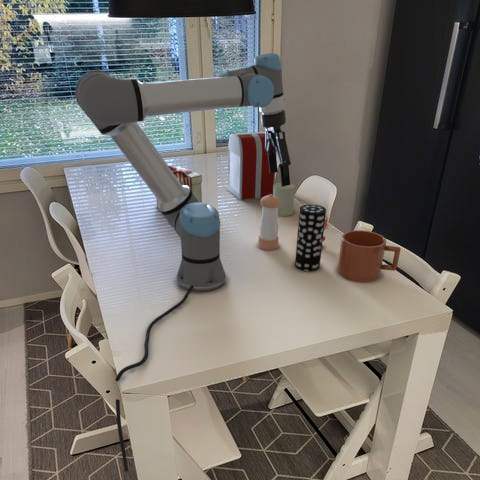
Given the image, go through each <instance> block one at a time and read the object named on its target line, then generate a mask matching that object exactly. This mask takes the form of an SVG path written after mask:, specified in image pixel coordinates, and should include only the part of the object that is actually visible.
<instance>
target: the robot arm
mask: <svg viewBox="0 0 480 480" xmlns="http://www.w3.org/2000/svg"><path fill="white" fill-rule="evenodd" d="M280 58H281V57H280V56H279V54H277V53H273V52H271V53H270V52H269V53H263V54H259V55H257V56H255V57H254V59H253V62H254V63H253V65H251V66H247V67H243V68H238V69H234V70H228V71H227V70H226V72H222V73H220V74H218V75H217V77H207V78H205V77H204V78H193V79H191V78H190V79H181V80H180V79H179V80H166V81H155V82H141V81H139V79H138V78H137V79H136V78H134V79H133V78H132V79H123V78H117V77H114V76H112V75H111V74H110V73H109V72H106V71H104V70H101V69H100V70H99V69H95V70H90V71H87V72H85V73H83V74H82V75H81V76H80V78H79V79H78V81H77V82H76V85H75V90H74V91H75V92H74V93H75V100H76V103H77V104H78V106H79V108H80V109H81V110H82V111H83V112H84V114H85V115H86V116H87V118H89V120H90V122H92V124H93V125H94V126H95V128H96V129H97V130H98V132H99V133H100V135H102V136H108V137H110V139H111V140H112V142H114V144H115V145H116V147H117V148H118V149H119V151H120V152H121V153H122V155H123V156H124V157H125V159H126V160H127V161H128V162H129V164H130V166H131V167H133V169H134V171H135V172H136V173H137V174H138V175H139V177H140V178H141V180H142V181H143V182H144V184H145V185H146V186H147V188H148V189H149V190H150V191H151V193H152V194H153V195H154V197H155V199H156V198H157V199H158V201H159V205H158V207H157V209H158V210H159V212H160V213H161V215H163V217H164V218H165V219H166V221H167V223H168V224H169V225H170V227H171V228H173V230H174V232H175V233H176V234H177V236H178V237H179V238H180V247H181V250H180V251H181V261H180V264H179V266H178V267H179V268H178V270H177V272H176V273H177V274H176V283H177V285H178V286H179V287H180V288H182V289H183V290H186V292H185V294H184V296H183V297H182V298H181V300H180V301H179V302H177V303H176V304H175V305H173V306H172V307H170V308H169V309H167V310H166V311H165V312H163V313H162V314H160V315H158V316H157V317H156V318H154V319H153V320H152V321H151V322H150V323H149V325H148V326H147V328H146V330H145V331H146V332H145V340H144V346H143V347H144V354H143V356H142V358H141V360H139V361H138V362H135V363H133V364H129V365H127V366H125V367H123V368H121V370H119V372H118V373H117V375H116V377H115V378H114V381H115V382H119V381H120V380H121V378H122V376H123V375H124V374H125V373H126V372H128V371H130V370H132V369H135V368H138V367H140V366H142V365H143V364H144V363H145V362H146V360H147V359H148V356H149V342H150V334H151V330H152V328H153V327H154V325H155V324H157V322H159V321H160V320H161V319H163V318H165V317H166V316H167V315H169V314H170V313H171V312H173V311H174V310H176V309H178V308H179V307H180V306H182V305H183V304H184V303H185V302H186V300H187V298H188V297H189V295H190V294H191V292H194V293H206V292H207V293H208V292H212V291H216V290H218V289H220V288H221V287H223V286H224V285H225V283H226V279H227V278H226V272H225V269H224V267H223V264H222V260H221V256H220V254H221V253H220V252H221V250H220V249H221V248H220V247H221V241H220V240H221V238H220V237H221V235H220V234H221V219H220V214H219V211H218V209H217V208H216V207H214V206H213V205H211V204H207V203H205V202H202V203H199V201H198V200H197V198H196V197H195V195H194V194H193V192H192V191H191V190H190V188H189V187H188V186H185V185H181V184H180V182H179V181H178V179H177V178H176V177H175V175H174V174H173V172H172V171H171V169H170V168H169V166H170V165H168V163H167V162H166V161H165V159H164V158H163V156H162V155H161V153H160V152H159V150H158V149H157V148H156V146H155V145H154V143H153V142H152V141H151V139H150V138H149V137H148V134H147V133H146V132H145V131H144V129H143V127H142V126H141V125H140V123H139V122H144V121H145V120H146V118H147V117H153V116H164V115H171V114H172V115H173V114H182V113H183V114H184V113H192V112H203V111H212V110H221V109H230V108H242V107H243V108H245V107H254V108H259V112H260V113H261V114H260V122H261V126H262V127H263V128H264V132H265V150H267V153H268V162H269V171H270V174H272V173H275V174H276V173H278V172H279V177H280V182H281V185H282V187H283V186H287V185H290V183H291V176H290V165H291V164H292V162H291V158H290V154H289V148H288V144H287V140H286V132H285V131H283V130H282V128H281V127H282V126H284V125H285V124H286V122H287V117H286V110H284V109H285V101H286V96H284V85H283V73H282V71H283V69H282V64H281V59H280ZM276 151H277V155H276V153H273V152H276ZM277 157H278V160H277ZM278 161H279V164H278ZM278 168H279V170H278ZM115 415H116V425H117V434H118V439H119V445H120V451H121V456H122V457H121V458H122V461H123V471H124V472H125V473H127V472H128V471H129V466H128V459H127V453H126V447H125V440H124V436H123V427H122V419H121V417H122V416H121V400H120V399H117V398H115Z"/></svg>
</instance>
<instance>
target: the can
mask: <svg viewBox="0 0 480 480" xmlns="http://www.w3.org/2000/svg"><path fill="white" fill-rule="evenodd" d="M295 191H296V185H295V184H294V183H291V182H290V185H287V186H283V187H282V185H281V181H280V182H275V184H274V185H273V196H276V197H278V198H279V199H280V201H281V203H280V206H279V207H278V216H281V217H285V216H286V217H287V216H290V215H291V216H292V215H294V202H295V193H296V192H295Z"/></svg>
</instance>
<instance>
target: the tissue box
mask: <svg viewBox="0 0 480 480" xmlns="http://www.w3.org/2000/svg"><path fill="white" fill-rule="evenodd" d="M227 147H228V149H227V150H228V151H227V152H228V153H227V155H228V157H227V162H228V163H227V191H229V192H230V193H231V194H232V195H234V197H236V198H237V199H238V200H240V201H242V200H251V199H253V200H254V199H260V198H261V199H262V198H263V197H264V196H267V195H269V194H272V195H273V185H274V184H275V183H276V173H272V174H270V171H269V162H268V153H267V150H265V131H255V132H254V131H247V132H239V133H231V134H230V135H229V139H228V146H227ZM273 153H276V156H278V155H277V151H276V152H273Z"/></svg>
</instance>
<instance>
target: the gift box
mask: <svg viewBox="0 0 480 480" xmlns="http://www.w3.org/2000/svg"><path fill="white" fill-rule="evenodd" d="M168 166H169V168H170V169H171V171H172V172H173V174H174V175H175V177H176V178H177V179H178V181H179V182H180V184H181V185H185V186H188V187H189V188H190V190H191V191H192V192H193V194H194V195H195V197H196V198H197V200H198V201H199V203H203V194H202V193H203V191H202V190H203V189H202V183H203V175H202V174H201V173H197V172H195V171H193V170H191V169H188V168H185V167H182V166H181V167H177V168H176V167H175V166H171V165H168ZM155 200H156V207H157V208H158V205H159V201H158V199H157V198H156V197H155Z"/></svg>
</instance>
